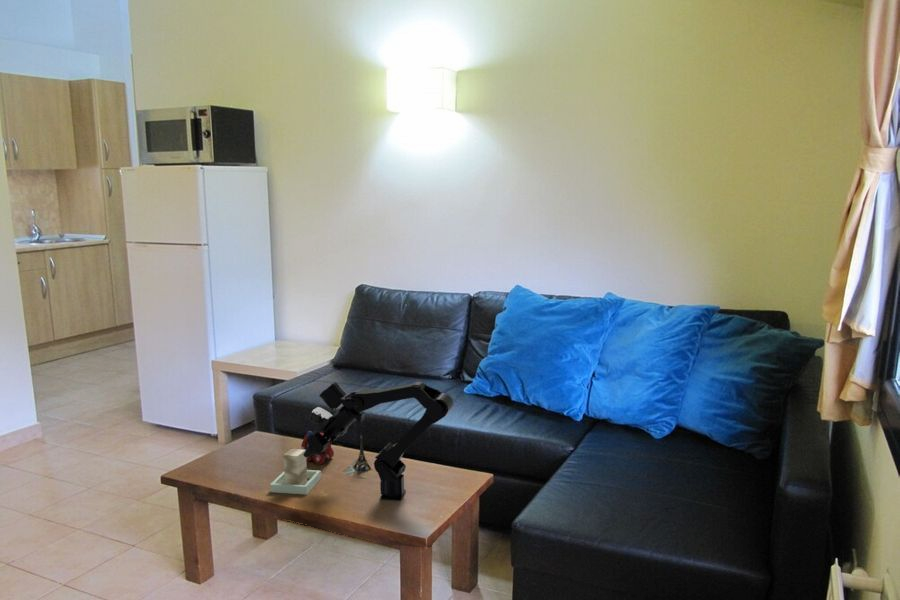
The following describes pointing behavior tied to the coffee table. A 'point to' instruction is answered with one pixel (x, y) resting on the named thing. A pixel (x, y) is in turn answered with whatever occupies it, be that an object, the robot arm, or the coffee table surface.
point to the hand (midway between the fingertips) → (311, 450)
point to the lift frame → (295, 489)
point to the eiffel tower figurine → (360, 462)
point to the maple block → (295, 467)
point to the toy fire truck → (320, 457)
